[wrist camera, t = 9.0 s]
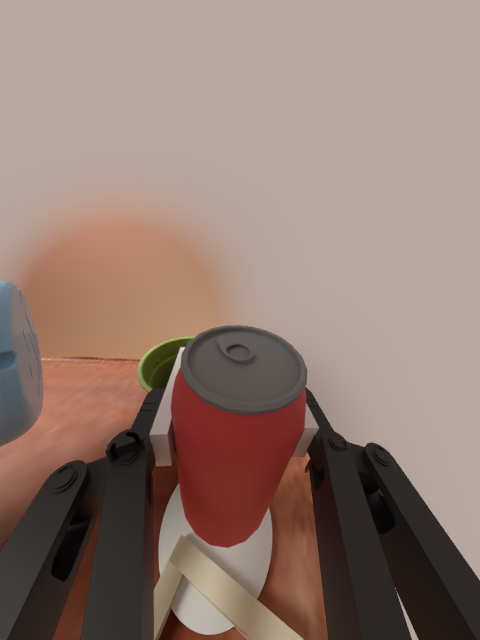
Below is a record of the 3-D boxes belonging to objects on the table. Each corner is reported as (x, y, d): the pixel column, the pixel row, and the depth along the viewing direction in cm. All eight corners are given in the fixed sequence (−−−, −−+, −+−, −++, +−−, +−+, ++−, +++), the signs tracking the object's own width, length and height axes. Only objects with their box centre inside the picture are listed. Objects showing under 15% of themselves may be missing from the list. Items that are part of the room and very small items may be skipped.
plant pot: (133, 458, 21) (113, 397, 16) (164, 384, 32) (158, 334, 27) (226, 456, 23) (234, 400, 18) (226, 386, 33) (231, 338, 28)
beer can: (232, 420, 17) (247, 312, 12) (286, 487, 13) (347, 366, 8) (166, 471, 13) (144, 340, 8) (213, 594, 9) (235, 490, 3)
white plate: (130, 568, 15) (128, 565, 14) (204, 443, 24) (204, 440, 23) (247, 692, 11) (248, 693, 11) (280, 489, 20) (282, 486, 20)
